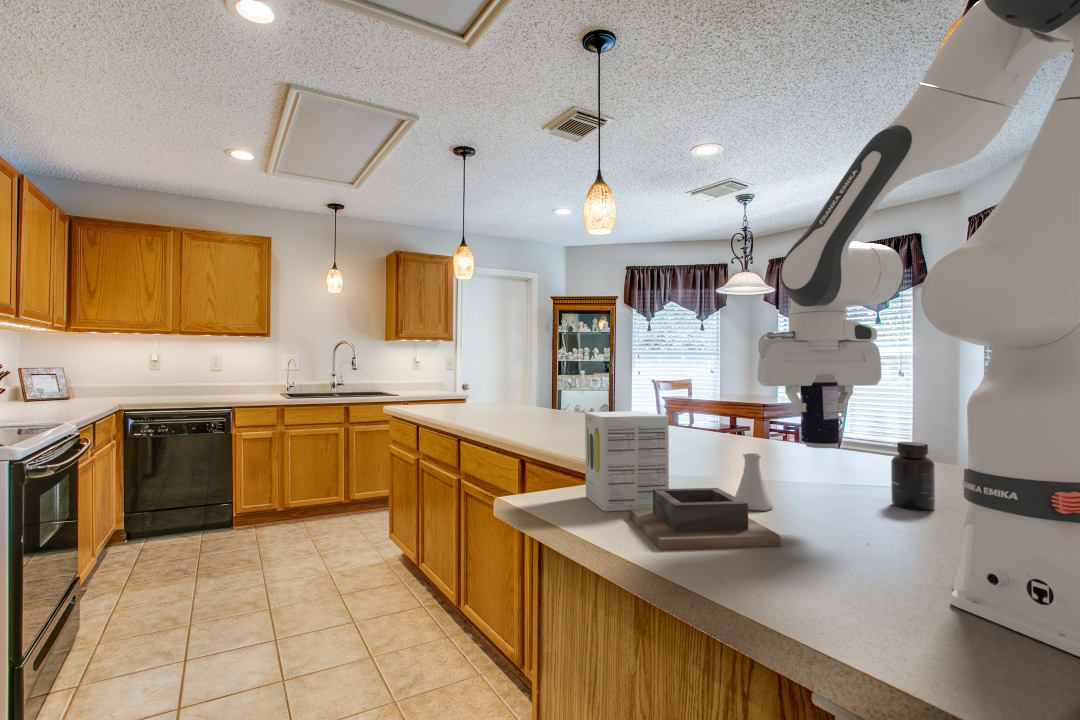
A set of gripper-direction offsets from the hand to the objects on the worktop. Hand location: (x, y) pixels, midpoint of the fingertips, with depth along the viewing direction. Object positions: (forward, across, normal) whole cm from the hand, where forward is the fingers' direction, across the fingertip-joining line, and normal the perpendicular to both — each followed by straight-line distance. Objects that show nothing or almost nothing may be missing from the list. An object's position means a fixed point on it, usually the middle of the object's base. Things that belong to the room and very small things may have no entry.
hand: (819, 413), depth 93 cm
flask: (+19, -6, +12) cm, 23 cm away
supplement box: (+18, -29, +18) cm, 39 cm away
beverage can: (+6, 0, 0) cm, 6 cm away
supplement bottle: (+19, +24, +9) cm, 32 cm away
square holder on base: (+18, -22, -2) cm, 29 cm away
